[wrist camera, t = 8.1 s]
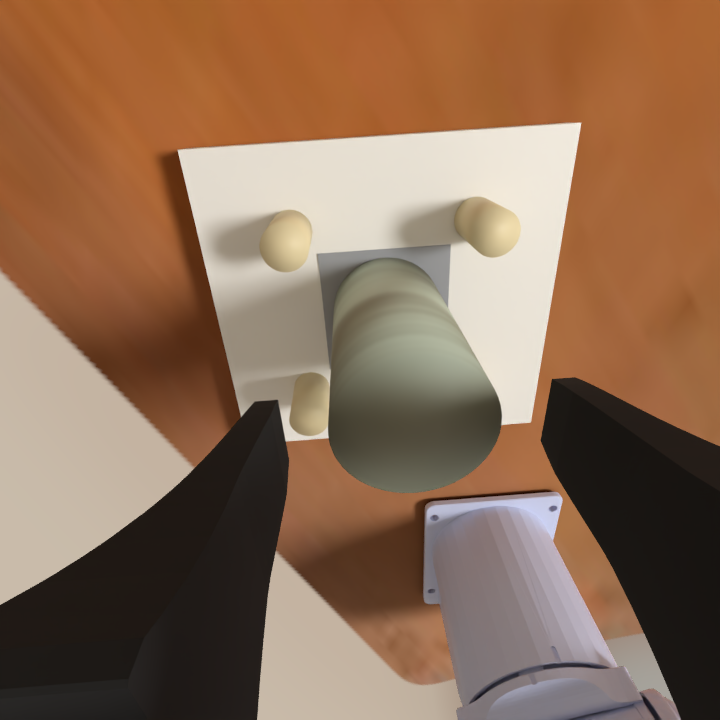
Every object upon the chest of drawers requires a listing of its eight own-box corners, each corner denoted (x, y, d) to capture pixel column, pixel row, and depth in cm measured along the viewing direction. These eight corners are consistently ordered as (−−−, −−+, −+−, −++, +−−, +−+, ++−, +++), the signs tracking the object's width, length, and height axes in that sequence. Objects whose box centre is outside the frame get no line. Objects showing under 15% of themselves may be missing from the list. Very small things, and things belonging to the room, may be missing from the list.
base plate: (521, 408, 22) (553, 456, 19) (252, 428, 22) (237, 481, 19) (565, 122, 16) (623, 122, 13) (188, 148, 16) (150, 154, 13)
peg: (437, 352, 19) (492, 487, 12) (338, 359, 19) (335, 497, 12) (441, 254, 17) (512, 347, 10) (329, 261, 17) (319, 359, 10)
